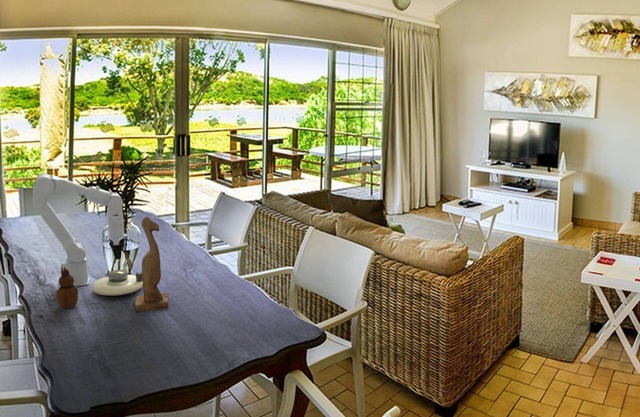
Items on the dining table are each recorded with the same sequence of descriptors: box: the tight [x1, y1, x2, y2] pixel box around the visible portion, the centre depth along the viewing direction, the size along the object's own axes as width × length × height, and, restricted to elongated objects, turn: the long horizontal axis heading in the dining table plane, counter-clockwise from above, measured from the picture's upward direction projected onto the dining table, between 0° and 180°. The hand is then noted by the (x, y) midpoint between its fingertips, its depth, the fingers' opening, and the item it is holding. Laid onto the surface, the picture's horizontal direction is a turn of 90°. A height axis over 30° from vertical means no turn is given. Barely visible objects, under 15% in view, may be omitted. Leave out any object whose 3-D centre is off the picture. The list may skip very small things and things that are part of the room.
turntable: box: [92, 271, 143, 296], centre depth 217 cm, size 18×18×5 cm
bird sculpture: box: [134, 216, 169, 313], centre depth 200 cm, size 11×12×32 cm
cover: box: [107, 269, 129, 282], centre depth 221 cm, size 7×7×3 cm
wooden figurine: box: [56, 266, 79, 309], centre depth 199 cm, size 7×6×15 cm
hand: (118, 257), depth 228 cm, fingers open, 3 cm apart
